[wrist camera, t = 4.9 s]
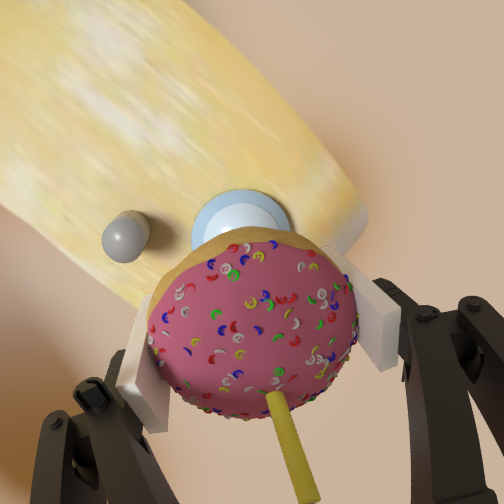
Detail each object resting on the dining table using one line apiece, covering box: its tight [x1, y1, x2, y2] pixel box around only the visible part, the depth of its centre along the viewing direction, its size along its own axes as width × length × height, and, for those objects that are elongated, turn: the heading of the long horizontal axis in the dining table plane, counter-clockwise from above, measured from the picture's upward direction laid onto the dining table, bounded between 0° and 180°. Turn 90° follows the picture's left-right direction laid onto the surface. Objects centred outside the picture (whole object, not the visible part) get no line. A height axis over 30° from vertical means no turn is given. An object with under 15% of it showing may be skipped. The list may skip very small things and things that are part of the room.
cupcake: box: [147, 226, 359, 504], centre depth 11 cm, size 9×8×12 cm
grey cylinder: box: [102, 210, 150, 263], centre depth 27 cm, size 4×4×4 cm
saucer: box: [191, 189, 291, 251], centre depth 31 cm, size 10×10×1 cm
